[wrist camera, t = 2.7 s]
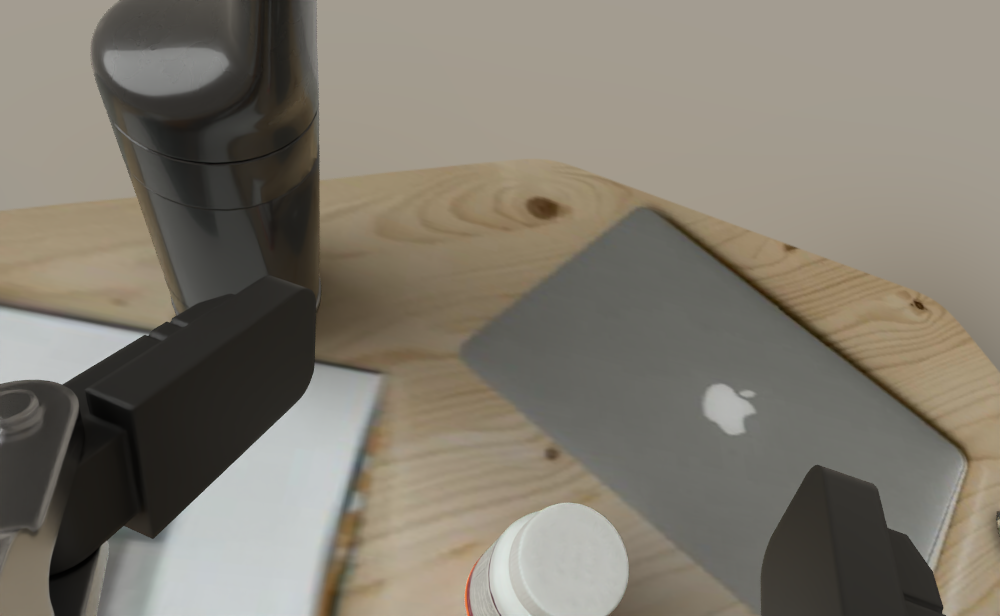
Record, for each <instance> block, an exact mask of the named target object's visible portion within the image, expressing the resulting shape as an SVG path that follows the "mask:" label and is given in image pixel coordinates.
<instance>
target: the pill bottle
mask: <svg viewBox="0 0 1000 616" xmlns="http://www.w3.org/2000/svg"><path fill="white" fill-rule="evenodd" d="M628 578H629V563H628V556H627V552H626V549H625V545H624V543H623V541H622V539H621V537H620V535H619V533H618V532H617V530H616V529H615V527H614V526H613V525H612V524H611V523H610V521H609V520H607V519H606V518H605V517H604V516H603V515H602V514H600V513H599V512H597V511H596V510H594V509H592V508H590V507H587V506H585V505H582V504H577V503H558V504H554V505H551V506H549V507H546V508H545V509H543V510H541V511H537V512H533V513H530V514H528V515H526V516H524V517H522V518H520V519H518V520H517V521H515V522H514V523H512V524H511V525H510V526H509V527H508V528H507V529H506V530H505V531H504V532H503V534H502V535H501V536H500V537H499V538H498V539H497V540H496V541H495V542H494V543H493V544H492V545H491V547H490V548H489V549H488V550H487V551H486V552H485V553H484V554H483V555H482V556H481V557H480V558H479V560H478V561H477V562H476V564H475V565H474V567H473V568H472V570H471V572H470V574H469V577H468V579H467V583H466V587H465V597H464V602H465V611H466V615H467V616H608V615H609V614H610V613H611V612H612V611H613V610H614V609H615V608H616V607H617V606H618V604H619V603H620V601H621V600H622V598H623V596H624V593H625V590H626V587H627V584H628Z"/></svg>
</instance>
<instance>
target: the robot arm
mask: <svg viewBox="0 0 1000 616" xmlns="http://www.w3.org/2000/svg"><path fill="white" fill-rule="evenodd" d="M91 65H92V69H93V73H94V76H95V80H96V83H97V86H98V89H99V92H100V95H101V97H102V100H103V103H104V106H105V108H106V110H107V113H108V117H109V119H110V122H111V125H112V128H113V131H114V134H115V137H116V139H117V142H118V145H119V148H120V151H121V153H122V156H123V159H124V162H125V164H126V167H127V170H128V173H129V175H130V178H131V181H132V184H133V187H134V190H135V193H136V195H137V198H138V201H139V204H140V207H141V210H142V213H143V216H144V218H145V221H146V224H147V227H148V230H149V233H150V236H151V238H152V241H153V244H154V247H155V250H156V253H157V256H158V259H159V261H160V264H161V267H162V270H163V273H164V276H165V279H166V282H167V285H168V288H169V291H170V294H171V299H172V304H173V308H174V310H175V313H176V316H175V317H174V318H172V321H171V322H170V323H169V322H165V323H164V324H162V325H160V326H159V327H157V328H155V329H154V330H152V331H151V332H150V335H149V336H146V335H144V336H142V337H141V338H139V339H137V340H136V341H134V342H132V343H131V344H129V345H127V346H126V347H124V348H122V349H121V350H119V351H117V352H116V353H114V354H112V355H111V356H109V357H107V358H106V359H104V360H102V361H101V362H99V363H97V364H96V365H94V366H93V367H91V368H89V369H88V370H86V371H84V372H83V373H81V374H79V375H78V376H76V377H74V378H73V379H71V380H69V381H68V382H66V383H64V384H63V385H61V384H59V383H55V382H51V381H44V380H22V381H13V382H8V383H3V384H0V616H96V614H97V609H98V604H99V599H100V595H101V590H102V585H103V580H104V575H105V570H106V565H107V561H108V556H109V545H108V539H109V538H110V537H111V536H113V535H114V534H115V533H116V532H117V531H118V530H119V529H120V528H122V527H123V526H126V527H128V528H130V529H132V530H135V531H137V532H139V533H141V534H143V535H146V536H148V537H150V538H152V539H154V538H155V537H156V536H157V535H158V534H159V533H160V532H161V531H162V530H163V529H164V528H165V527H166V526H167V525H168V524H169V523H170V522H171V521H172V520H174V519H175V518H176V517H177V516H178V515H179V514H180V513H181V512H182V511H183V510H184V509H185V508H186V507H187V506H188V505H189V504H190V503H191V502H192V501H193V500H195V499H196V498H197V497H198V496H199V495H200V494H201V493H202V492H203V491H204V490H205V489H206V488H207V487H208V486H209V485H210V484H211V483H212V482H213V481H214V480H216V479H217V478H218V477H219V476H220V475H221V474H222V473H223V472H224V471H225V470H226V469H227V468H228V467H229V466H230V465H231V464H232V463H233V462H234V461H235V460H237V459H238V458H239V457H240V456H241V455H242V454H243V453H244V452H245V451H246V450H247V449H248V448H249V447H250V446H251V445H252V444H253V443H254V442H255V441H256V440H258V439H259V438H260V437H261V436H262V435H263V434H264V433H265V432H266V431H267V430H268V429H269V428H270V427H271V426H272V425H273V424H274V423H275V422H276V421H277V420H279V419H280V418H281V417H282V416H283V415H284V414H285V413H286V412H287V411H288V410H289V409H290V408H291V407H292V406H293V405H294V404H295V403H296V402H297V401H298V400H299V399H300V398H301V397H302V396H303V394H304V393H305V391H306V389H307V387H308V385H309V383H310V381H311V378H312V375H313V371H314V363H315V328H316V313H317V310H318V307H319V304H320V299H321V281H320V276H319V263H320V211H319V94H318V93H319V91H318V90H319V88H318V59H317V0H119V1H118V2H117V3H115V4H114V5H113V6H112V7H111V8H110V9H109V10H108V11H107V12H106V13H105V14H104V16H103V17H102V18H101V19H100V21H99V23H98V24H97V26H96V29H95V31H94V33H93V36H92V41H91ZM942 610H943V605H942V601H941V598H940V595H939V591H938V588H937V585H936V581H935V578H934V575H933V571H932V570H931V569H930V567H929V566H928V564H927V563H926V562H925V560H924V559H923V557H922V556H921V554H920V553H919V552H918V550H917V549H916V547H915V546H914V545H913V543H912V542H911V540H910V539H909V537H908V536H907V535H905V534H903V533H900V532H897V531H894V530H891V529H889V528H887V525H886V521H885V517H884V513H883V508H882V504H881V500H880V496H879V492H878V489H877V488H876V486H875V485H874V484H872V483H869V482H866V481H863V480H860V479H857V478H854V477H851V476H848V475H846V474H843V473H840V472H837V471H834V470H831V469H828V468H825V467H822V466H819V465H815V466H814V467H812V468H811V469H810V471H809V472H808V473H807V475H806V476H805V478H804V480H803V482H802V484H801V485H800V487H799V489H798V491H797V492H796V494H795V496H794V498H793V499H792V501H791V503H790V505H789V506H788V508H787V510H786V512H785V513H784V515H783V517H782V519H781V520H780V522H779V524H778V526H777V528H776V529H775V531H774V533H773V535H772V537H771V539H770V541H769V543H768V546H767V549H766V552H765V555H764V559H763V564H762V570H761V616H946V615H943V614H942Z"/></svg>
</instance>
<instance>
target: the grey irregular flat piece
mask: <svg viewBox="0 0 1000 616" xmlns="http://www.w3.org/2000/svg"><path fill="white" fill-rule="evenodd" d="M997 514H998V516H997V515H996V516H997V518H996V521H997V523H998V524H997V525H999V526H998V530H999V533H998V534H999V535H1000V512H999V511H997ZM999 537H1000V536H999Z"/></svg>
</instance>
